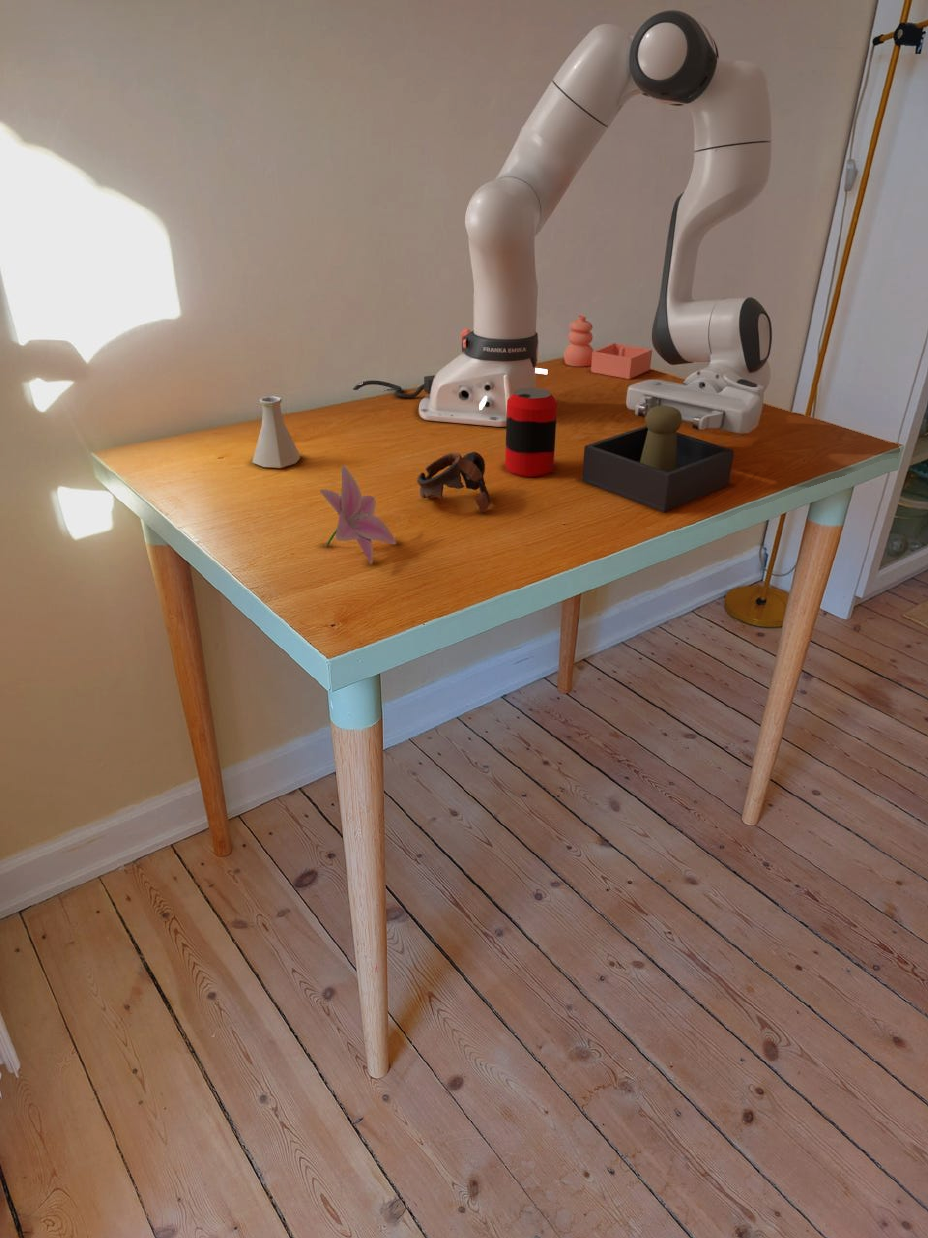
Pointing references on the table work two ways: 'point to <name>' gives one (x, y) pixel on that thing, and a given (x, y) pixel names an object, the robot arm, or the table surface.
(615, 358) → the pottery
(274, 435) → the flask
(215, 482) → the table surface
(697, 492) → the open box
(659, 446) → the cork
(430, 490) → the broken clay pot
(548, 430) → the soda can
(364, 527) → the lily
